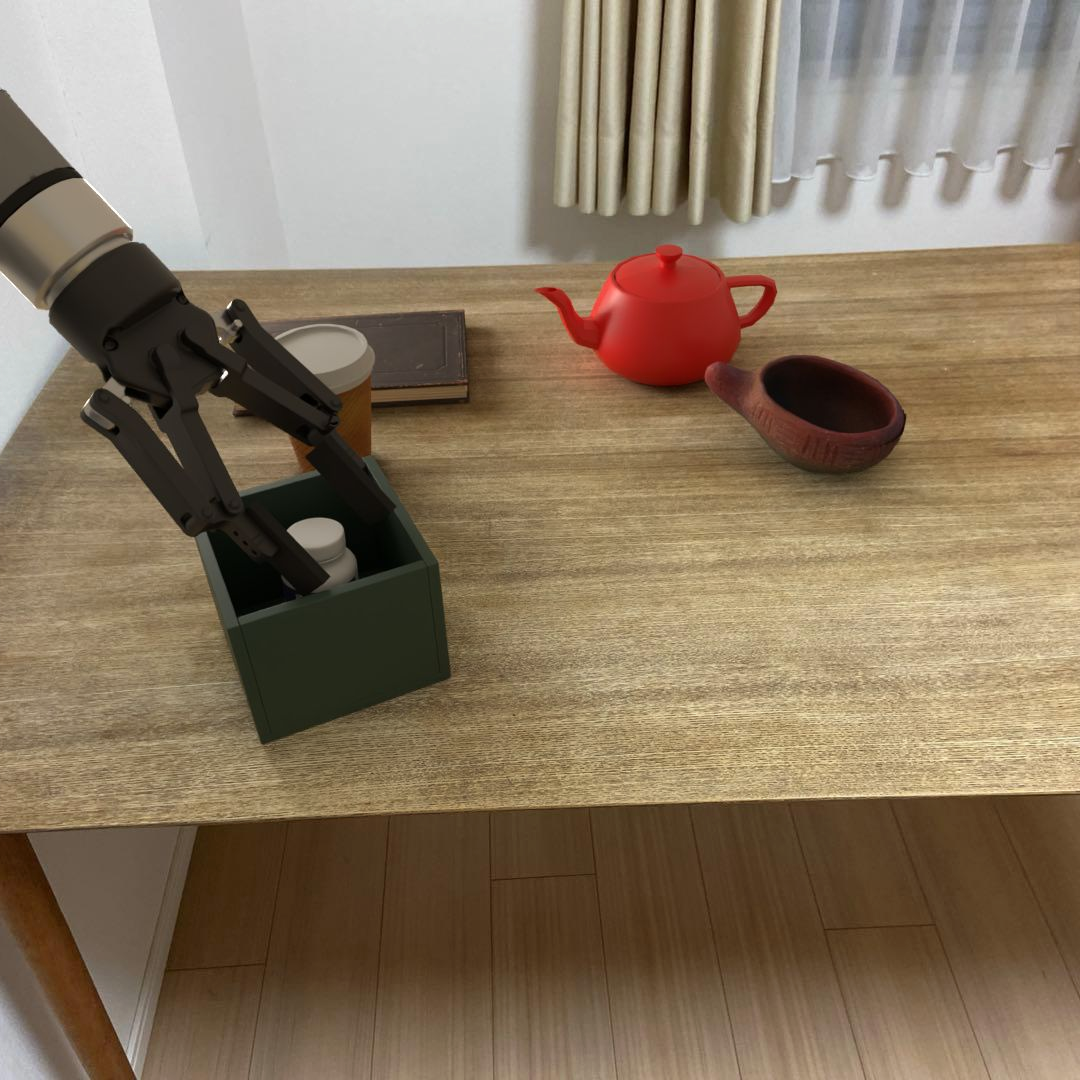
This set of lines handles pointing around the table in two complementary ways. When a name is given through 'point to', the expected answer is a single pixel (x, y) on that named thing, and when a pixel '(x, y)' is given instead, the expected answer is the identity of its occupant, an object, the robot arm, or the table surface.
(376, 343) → the hardcover book
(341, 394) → the disposable coffee cup
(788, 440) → the bowl
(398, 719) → the table surface
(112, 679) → the table surface
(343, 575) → the pill bottle
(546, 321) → the table surface
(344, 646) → the waste bin
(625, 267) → the teapot
